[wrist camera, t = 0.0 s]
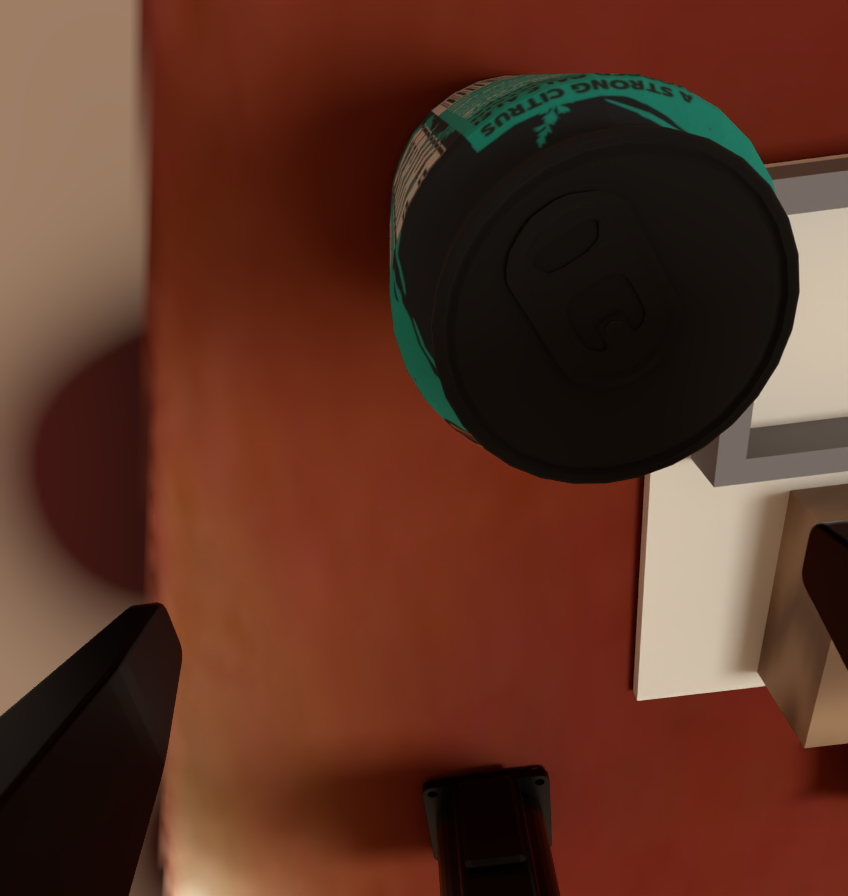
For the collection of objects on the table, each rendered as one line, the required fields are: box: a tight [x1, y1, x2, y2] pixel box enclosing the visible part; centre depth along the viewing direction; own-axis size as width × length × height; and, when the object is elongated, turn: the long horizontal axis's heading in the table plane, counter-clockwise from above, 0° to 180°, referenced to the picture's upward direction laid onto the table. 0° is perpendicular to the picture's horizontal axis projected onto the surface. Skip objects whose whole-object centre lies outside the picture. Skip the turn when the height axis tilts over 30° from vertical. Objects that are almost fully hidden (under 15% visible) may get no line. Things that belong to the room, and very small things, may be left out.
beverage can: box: [390, 73, 800, 484], centre depth 16 cm, size 7×7×12 cm
